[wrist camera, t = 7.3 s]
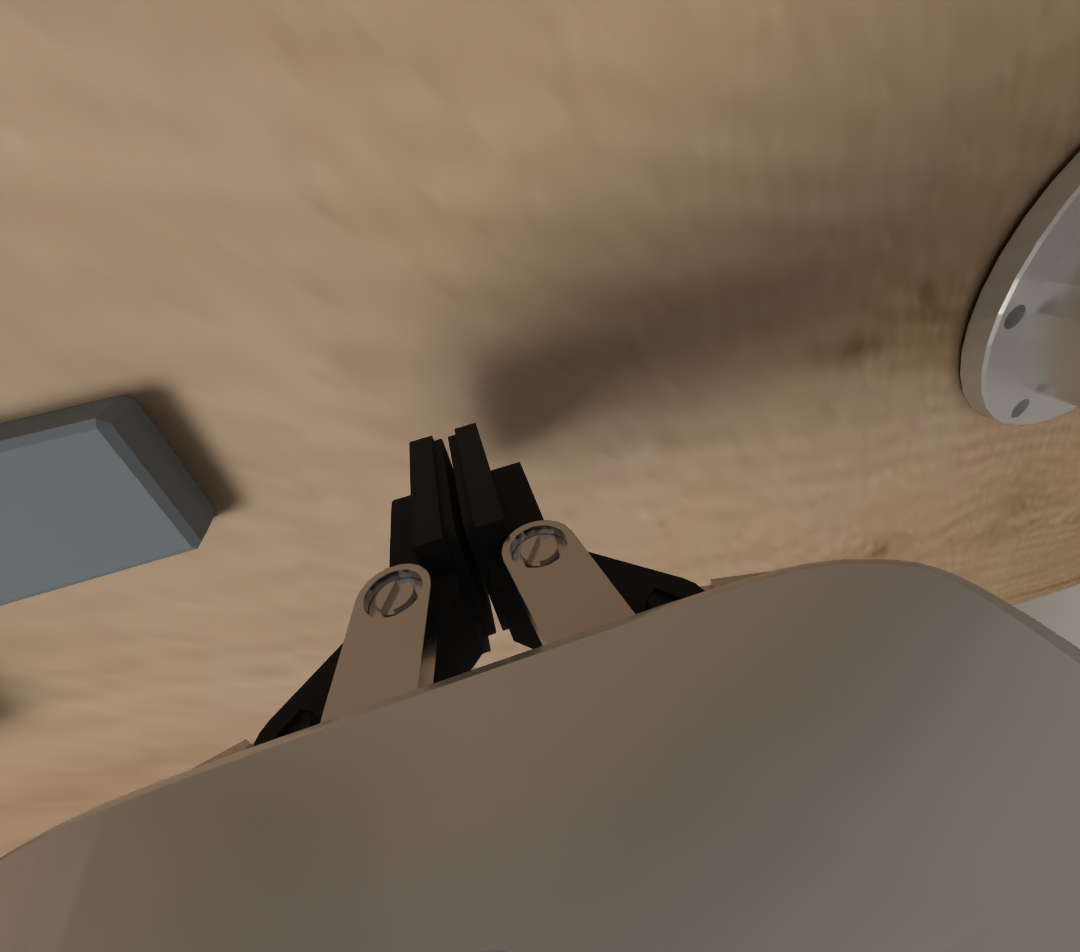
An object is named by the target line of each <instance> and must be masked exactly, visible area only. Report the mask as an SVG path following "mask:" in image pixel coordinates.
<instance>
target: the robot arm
mask: <svg viewBox="0 0 1080 952" xmlns="http://www.w3.org/2000/svg"><path fill="white" fill-rule="evenodd" d="M960 377H961V383H962V389H963V394H964V396H965V398H966V400H967V401H968V403H969V405H970V407H971V408H973V409H974V410H975V411H977V412H978V413H979V414H981V415H982V416H985V417H988V418H990V419H993V420H995V421H998V422H1001V423H1003V424H1007V425H1019V426H1024V425H1030V424H1035V423H1040V422H1044V421H1047V420H1049V419H1052V418H1054V417H1057V416H1060V415H1062V414H1065V413H1067V412H1069V411H1070V410H1072V409H1074V408H1076V407H1080V151H1079V152H1078V153H1077V154H1076V155H1075V156H1074V157H1073V159H1072V160H1071V161H1070V162H1069V163H1068V164H1067V165H1066V166H1065V167H1064V169H1063V170H1062V171H1061V172H1060V173H1059V174H1058V175H1057V176H1056V177H1055V178H1054V180H1053V181H1052V182H1051V183H1050V184H1049V185H1048V187H1047V188H1046V189H1045V191H1044V192H1043V193H1042V195H1041V196H1040V197H1039V198H1038V200H1037V201H1036V202H1035V204H1034V205H1033V206H1032V208H1031V209H1030V210H1029V212H1028V213H1027V214H1026V216H1025V217H1024V218H1023V219H1022V221H1021V222H1020V224H1019V226H1018V227H1017V229H1016V230H1015V232H1014V233H1013V235H1012V237H1011V238H1010V240H1009V241H1008V243H1007V244H1006V246H1005V248H1004V249H1003V251H1002V252H1001V254H1000V255H999V257H998V259H997V261H996V263H995V265H994V267H993V269H992V271H991V273H990V275H989V277H988V278H987V280H986V282H985V284H984V286H983V288H982V290H981V292H980V295H979V297H978V300H977V302H976V305H975V308H974V310H973V313H972V315H971V318H970V320H969V323H968V327H967V331H966V335H965V339H964V343H963V347H962V352H961V366H960ZM455 434H456V435H453V436H449V437H448V440H449V446H450V452H451V458H452V463H453V467H452V464H451V462H450V459H449V456H448V454H447V451H446V448H445V446H444V443H443V441H442V439H439V440H436V441H434V439H433V437H432V436H429V437H426V438H422V439H419V440H415V441H412V442H410V485H411V495H410V496H406V497H403V498H400V499H396V500H394V501H392V509H391V538H390V566H389V568H387V569H385V570H384V571H382V572H380V573H378V574H377V575H375V576H374V577H373V578H372V579H370V580H369V581H368V582H367V583H366V584H365V586H364V587H363V588H362V589H361V590H360V592H359V594H358V597H357V599H356V601H355V605H354V608H353V611H352V615H351V618H350V622H349V625H348V629H347V632H346V635H345V639H344V642H343V644H342V645H341V646H340V647H339V648H338V649H337V650H336V651H335V652H334V653H333V654H332V655H331V656H330V657H329V658H328V659H327V661H326V662H325V663H324V664H323V665H322V666H321V667H320V668H319V669H318V670H317V671H316V672H315V673H314V674H313V675H312V676H311V677H310V678H309V679H308V681H307V682H306V683H305V684H304V685H303V686H302V687H301V688H300V689H299V690H298V691H297V692H296V693H295V694H294V695H293V696H292V697H291V698H290V699H289V700H288V702H287V703H286V704H285V705H284V706H283V707H282V708H281V709H280V710H279V711H278V712H277V713H276V714H275V715H274V716H273V717H272V718H271V719H270V721H269V722H268V723H267V724H266V726H265V727H264V728H263V729H262V731H261V732H260V733H259V735H258V737H257V739H256V741H255V742H254V743H252V744H251V743H250V742H249V741H247V740H246V739H245V740H244V741H242V742H240V743H238V744H236V745H235V746H233V747H231V748H229V749H227V750H225V751H224V752H222V753H220V754H218V755H216V756H215V757H213V758H211V759H209V760H207V761H205V762H204V763H202V764H200V765H198V766H196V767H195V768H193V769H191V770H189V771H186V772H183V773H180V774H178V775H175V776H172V777H170V778H167V779H164V780H162V781H159V782H156V783H154V784H151V785H149V786H146V787H144V788H141V789H139V790H136V791H134V792H131V793H129V794H126V795H124V796H121V797H119V798H116V799H114V800H111V801H109V802H106V803H104V804H102V805H100V806H97V807H95V808H93V809H91V810H89V811H87V812H85V813H82V814H80V815H78V816H76V817H74V818H72V819H70V820H68V821H65V822H63V823H61V824H59V825H57V826H55V827H53V828H51V829H50V830H48V831H46V832H44V833H42V834H41V835H39V836H37V837H35V838H33V839H31V840H30V841H28V842H26V843H24V844H22V845H21V846H19V847H17V848H15V849H13V850H12V851H10V852H9V853H7V854H6V855H4V856H3V857H1V858H0V952H1080V649H1079V648H1078V647H1076V646H1075V645H1073V644H1072V643H1070V642H1069V641H1067V640H1066V639H1064V638H1062V637H1061V636H1059V635H1058V634H1056V633H1055V632H1053V631H1052V630H1050V629H1048V628H1047V627H1046V626H1044V625H1043V624H1041V623H1040V622H1038V621H1036V620H1035V619H1033V618H1032V617H1030V616H1029V615H1027V614H1025V613H1024V612H1022V611H1020V610H1019V609H1017V608H1015V607H1014V606H1012V605H1010V604H1009V603H1007V602H1005V601H1004V600H1002V599H1000V598H999V597H997V596H995V595H994V594H992V593H990V592H988V591H987V590H985V589H983V588H981V587H979V586H977V585H975V584H973V583H971V582H969V581H967V580H965V579H963V578H961V577H959V576H957V575H955V574H952V573H950V572H947V571H945V570H942V569H940V568H936V567H933V566H929V565H925V564H921V563H916V562H909V561H901V560H890V559H841V560H832V561H823V562H815V563H807V564H802V565H797V566H793V567H788V568H783V569H778V570H774V571H770V572H762V573H754V574H747V575H739V576H732V577H724V578H716V579H711V583H710V585H708V586H701V587H699V586H698V585H697V584H695V583H693V582H691V581H688V580H686V579H684V578H680V577H677V576H673V575H669V574H666V573H662V572H659V571H655V570H651V569H648V568H644V567H641V566H637V565H633V564H630V563H626V562H623V561H619V560H615V559H612V558H608V557H605V556H601V555H597V554H594V553H590V552H588V551H587V550H586V549H585V548H584V546H583V545H582V544H581V542H580V541H579V540H578V538H577V537H576V536H575V534H574V533H573V532H572V531H571V530H570V529H569V528H568V527H567V526H566V525H564V524H562V523H559V522H557V521H550V520H544V519H543V517H542V515H541V512H540V510H539V507H538V505H537V502H536V500H535V498H534V495H533V493H532V490H531V488H530V485H529V483H528V481H527V478H526V476H525V473H524V471H523V469H522V466H521V464H520V462H518V463H514V464H511V465H508V466H505V467H501V468H498V469H495V470H491V471H490V468H489V464H488V461H487V458H486V455H485V452H484V448H483V445H482V442H481V439H480V436H479V433H478V429H477V426H476V423H473V424H470V425H466V426H463V427H460V428H456V429H455ZM453 469H454V470H453ZM488 594H489V595H488ZM489 596H490V599H491V601H492V604H493V606H494V609H495V611H496V614H497V617H498V619H499V622H500V624H501V627H502V629H503V630H506V629H509V630H510V632H511V635H512V637H513V640H514V641H516V642H518V643H520V644H523V645H525V646H527V647H530V648H532V650H529V651H526V652H523V653H520V654H518V655H515V656H512V657H509V658H506V659H503V660H500V661H497V662H494V663H491V664H489V665H486V666H483V667H480V668H477V669H475V667H474V665H475V664H476V662H477V661H478V659H479V658H480V656H481V655H482V654H483V653H486V652H489V651H491V649H490V644H489V639H488V636H489V635H492V634H495V633H496V629H495V624H494V619H493V614H492V609H491V604H490V599H489Z"/></svg>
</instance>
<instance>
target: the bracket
mask: <svg viewBox="0 0 1080 952" xmlns="http://www.w3.org/2000/svg"><path fill="white" fill-rule="evenodd" d="M215 513H216V510H215V508H214V507H213V506H212V504H211V503H210V501H209V500H208V499H207V497H206V496H205V494H204V493H203V492H202V490H201V489H200V487H199V486H198V485H197V483H196V482H195V480H194V479H193V478H192V476H191V475H190V473H189V472H188V471H187V469H186V468H185V466H184V465H183V464H182V462H181V461H180V460H179V458H178V457H177V455H176V454H175V453H174V451H173V450H172V448H171V447H170V446H169V444H168V443H167V441H166V440H165V439H164V437H163V436H162V434H161V433H160V432H159V430H158V429H157V427H156V426H155V425H154V423H153V422H152V421H151V419H150V418H149V416H148V415H147V414H146V412H145V411H144V409H143V408H142V407H141V405H140V404H139V402H138V401H137V400H135V399H133V398H130V397H127V396H125V395H121V396H116V397H112V398H108V399H103V400H99V401H95V402H91V403H86V404H82V405H78V406H74V407H69V408H65V409H61V410H57V411H52V412H48V413H44V414H40V415H35V416H31V417H27V418H23V419H18V420H14V421H10V422H5V423H1V424H0V606H1V605H4V604H8V603H11V602H15V601H18V600H21V599H25V598H28V597H32V596H35V595H39V594H42V593H46V592H49V591H52V590H56V589H59V588H63V587H66V586H70V585H73V584H76V583H80V582H83V581H87V580H90V579H94V578H97V577H101V576H104V575H107V574H111V573H114V572H118V571H121V570H125V569H128V568H131V567H135V566H138V565H142V564H145V563H149V562H152V561H155V560H159V559H162V558H166V557H169V556H173V555H176V554H180V553H183V552H186V551H190V550H193V549H197V548H198V547H199V545H200V543H201V541H202V539H203V537H204V536H205V534H206V532H207V530H208V528H209V526H210V524H211V521H212V519H213V517H214V515H215Z"/></svg>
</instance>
